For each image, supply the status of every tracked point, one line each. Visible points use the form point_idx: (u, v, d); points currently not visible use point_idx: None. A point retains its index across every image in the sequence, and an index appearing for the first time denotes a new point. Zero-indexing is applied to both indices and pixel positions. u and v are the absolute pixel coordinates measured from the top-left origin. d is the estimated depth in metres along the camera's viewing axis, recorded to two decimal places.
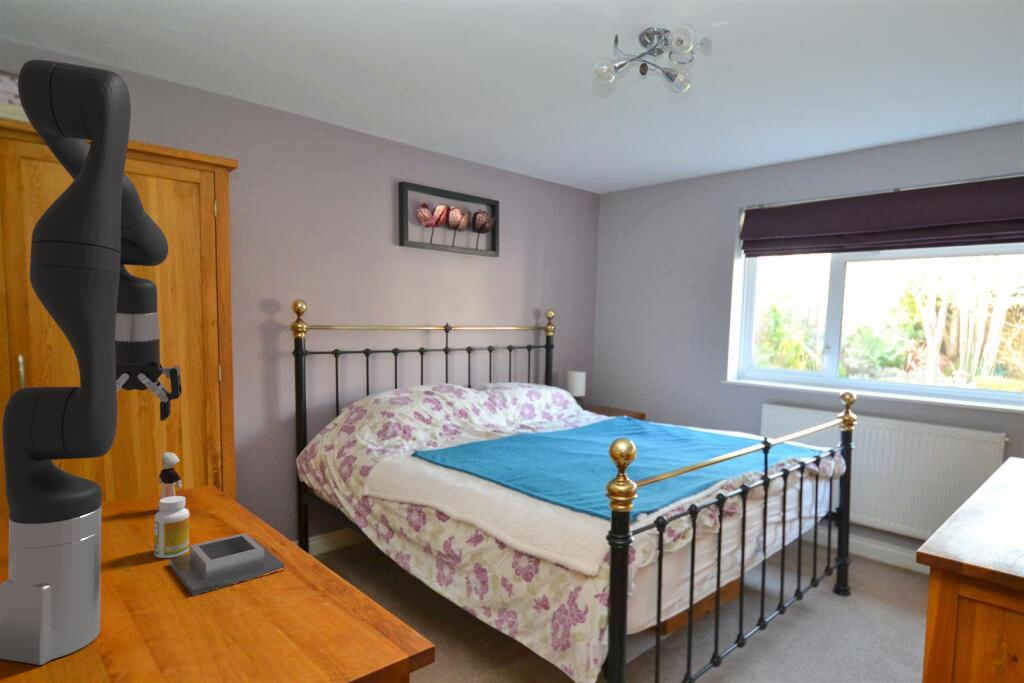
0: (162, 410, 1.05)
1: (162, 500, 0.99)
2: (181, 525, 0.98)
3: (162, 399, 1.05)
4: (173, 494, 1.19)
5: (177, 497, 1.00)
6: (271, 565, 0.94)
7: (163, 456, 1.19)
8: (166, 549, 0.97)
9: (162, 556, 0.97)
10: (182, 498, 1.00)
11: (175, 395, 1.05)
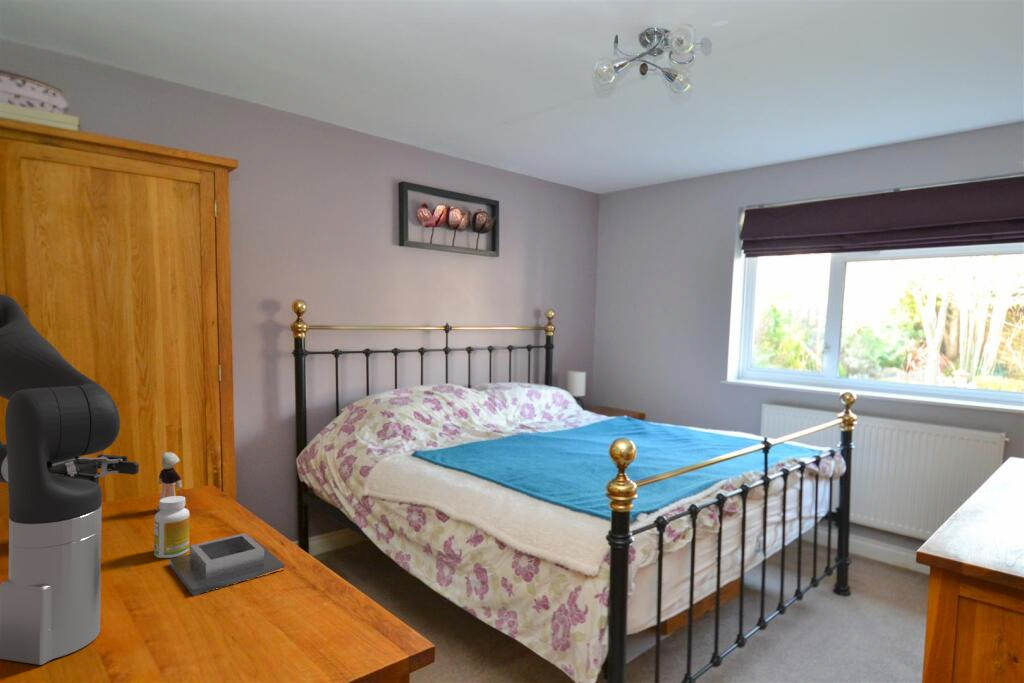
0: (127, 461, 1.06)
1: (162, 500, 0.99)
2: (181, 525, 0.98)
3: (117, 460, 1.06)
4: (173, 494, 1.19)
5: (177, 497, 1.00)
6: (271, 565, 0.94)
7: (163, 456, 1.19)
8: (166, 549, 0.97)
9: (162, 556, 0.97)
10: (182, 498, 1.00)
11: (123, 456, 1.08)
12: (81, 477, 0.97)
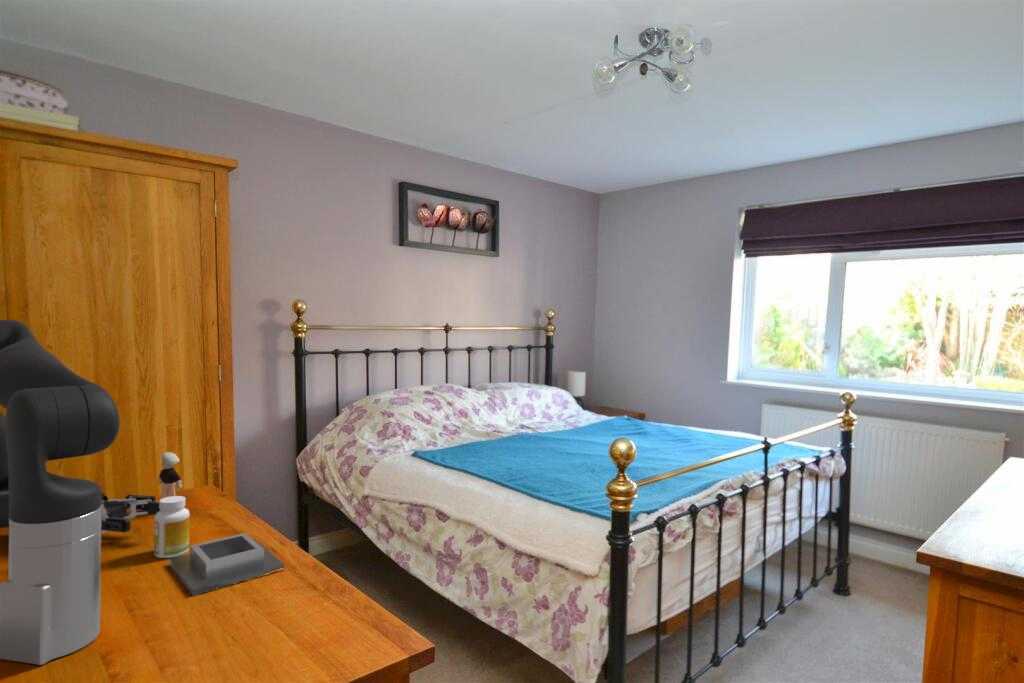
0: (156, 502, 1.05)
1: (162, 500, 0.99)
2: (181, 525, 0.98)
3: (146, 500, 1.05)
4: (173, 494, 1.19)
5: (177, 497, 1.00)
6: (271, 565, 0.94)
7: (163, 456, 1.19)
8: (166, 549, 0.97)
9: (162, 556, 0.97)
10: (182, 498, 1.00)
11: (152, 496, 1.07)
12: (113, 522, 0.96)
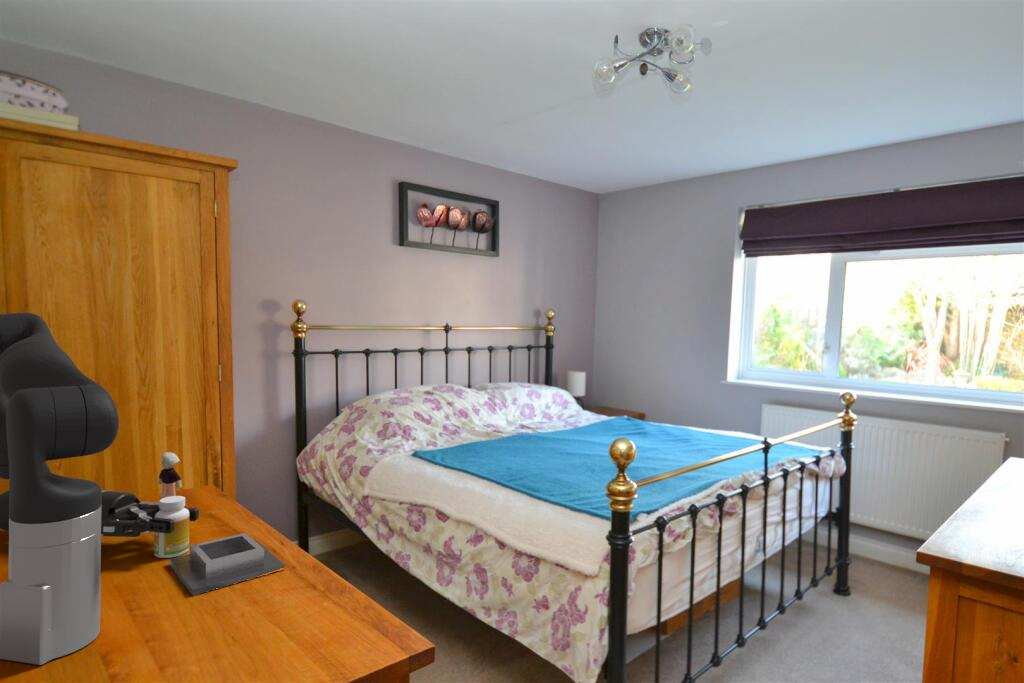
0: (186, 507, 1.03)
1: (162, 500, 0.99)
2: (181, 525, 0.98)
3: None
4: (173, 494, 1.19)
5: (177, 497, 1.00)
6: (271, 565, 0.94)
7: (163, 456, 1.19)
8: (166, 549, 0.97)
9: (162, 555, 0.97)
10: (182, 498, 1.00)
11: None
12: (157, 522, 0.96)
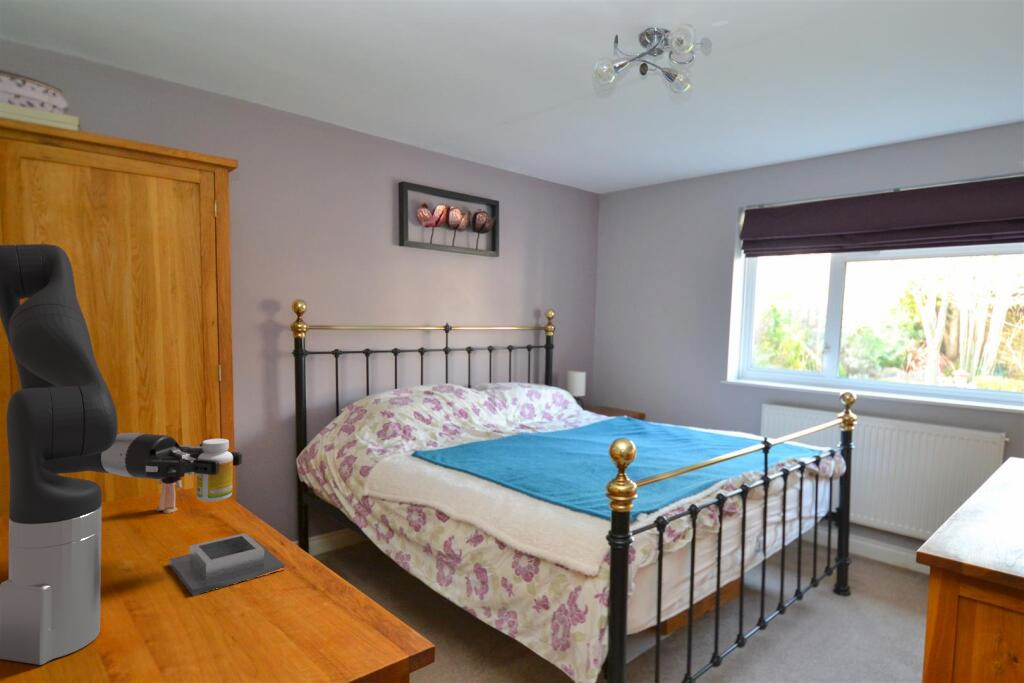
0: None
1: (205, 441, 0.94)
2: (225, 467, 0.94)
3: None
4: (173, 494, 1.19)
5: (220, 440, 0.96)
6: (271, 565, 0.94)
7: None
8: (210, 492, 0.93)
9: (206, 499, 0.93)
10: (226, 440, 0.96)
11: None
12: (201, 463, 0.92)
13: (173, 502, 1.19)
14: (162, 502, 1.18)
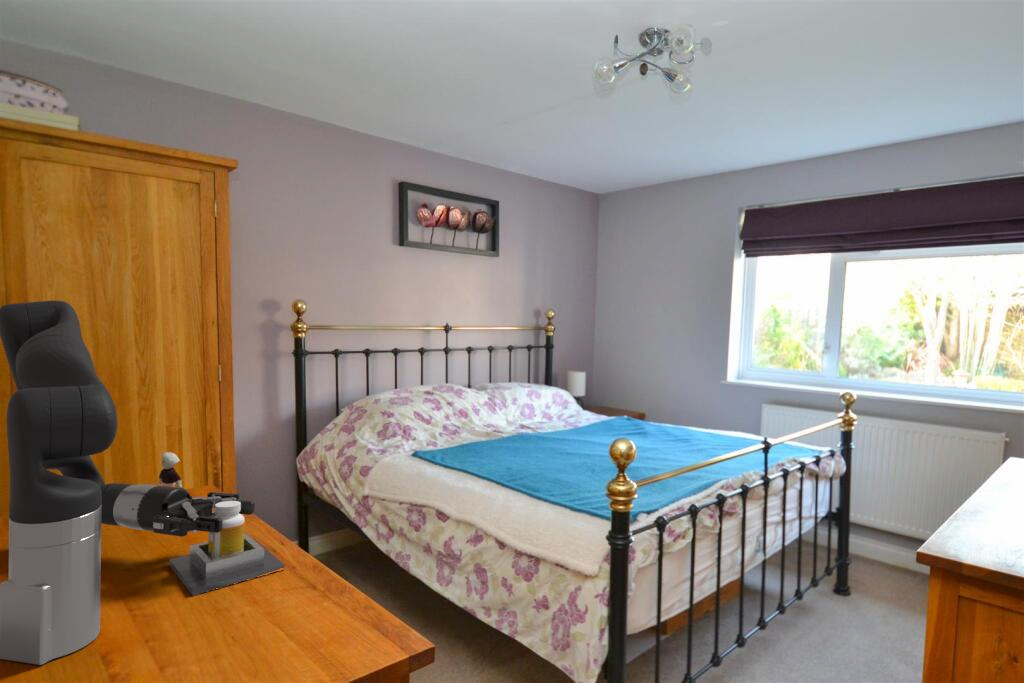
0: (242, 500, 0.99)
1: (217, 504, 0.94)
2: (237, 531, 0.94)
3: (231, 498, 0.99)
4: None
5: (232, 502, 0.96)
6: (271, 565, 0.94)
7: (163, 456, 1.19)
8: None
9: None
10: (238, 503, 0.96)
11: (235, 494, 1.01)
12: (204, 521, 0.90)
13: None
14: None
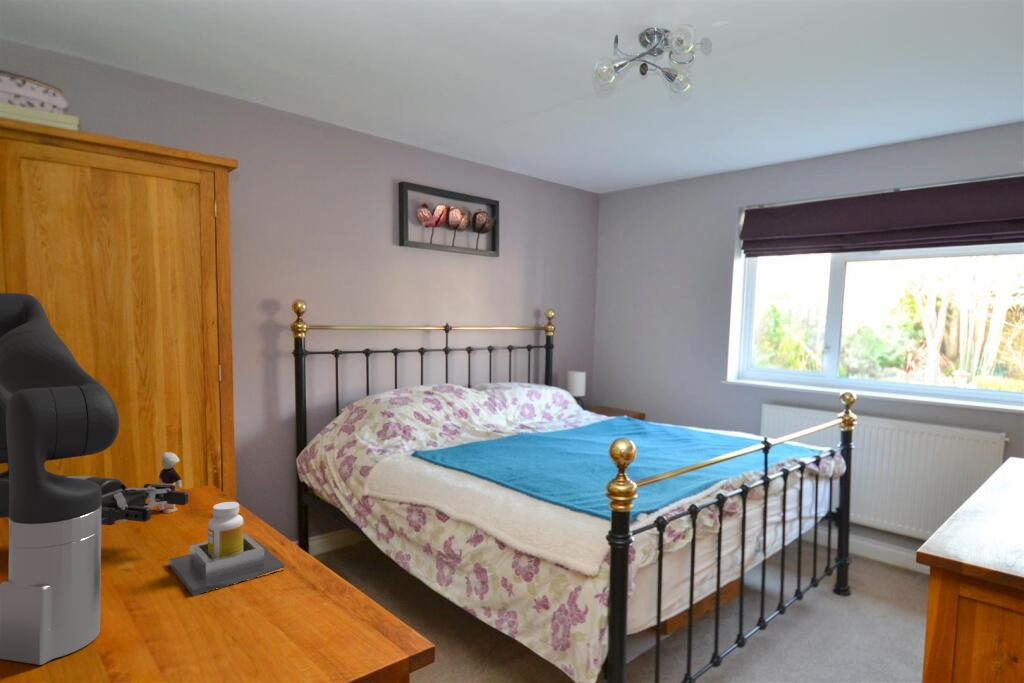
0: (176, 491, 1.01)
1: (216, 506, 0.94)
2: (236, 532, 0.94)
3: (165, 489, 1.01)
4: None
5: (230, 503, 0.95)
6: (271, 565, 0.94)
7: (163, 456, 1.19)
8: None
9: None
10: (236, 504, 0.95)
11: (171, 485, 1.04)
12: (133, 510, 0.92)
13: None
14: None
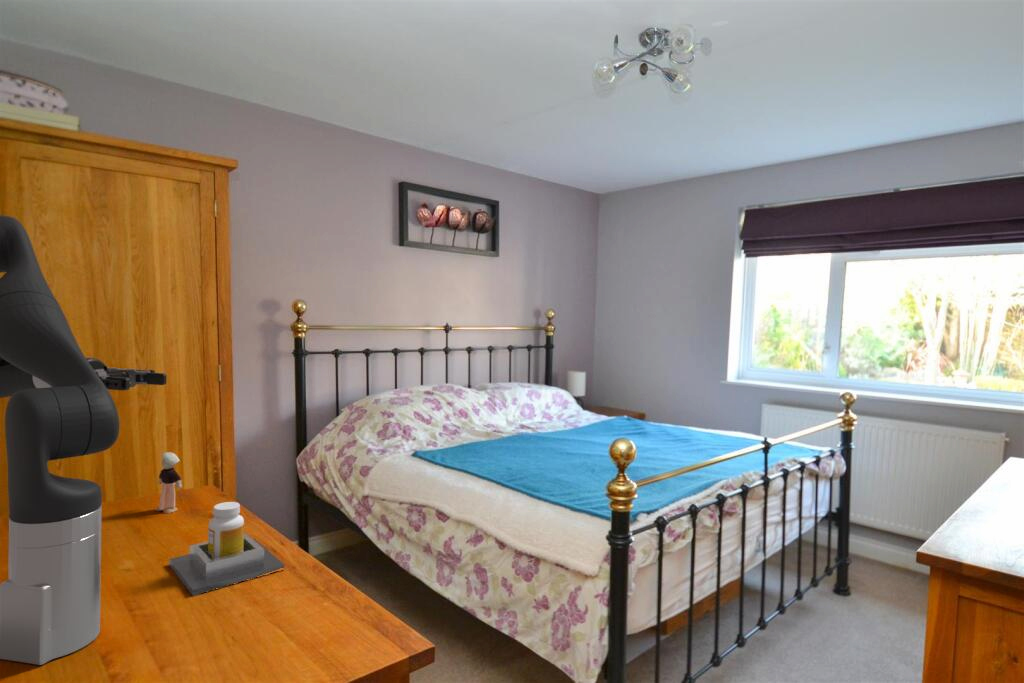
0: (155, 373, 1.07)
1: (216, 507, 0.94)
2: (237, 533, 0.94)
3: (145, 371, 1.08)
4: (173, 494, 1.19)
5: (231, 503, 0.95)
6: (271, 565, 0.94)
7: (163, 456, 1.19)
8: None
9: None
10: (237, 504, 0.95)
11: None
12: (112, 379, 0.98)
13: (173, 502, 1.19)
14: (162, 502, 1.18)
